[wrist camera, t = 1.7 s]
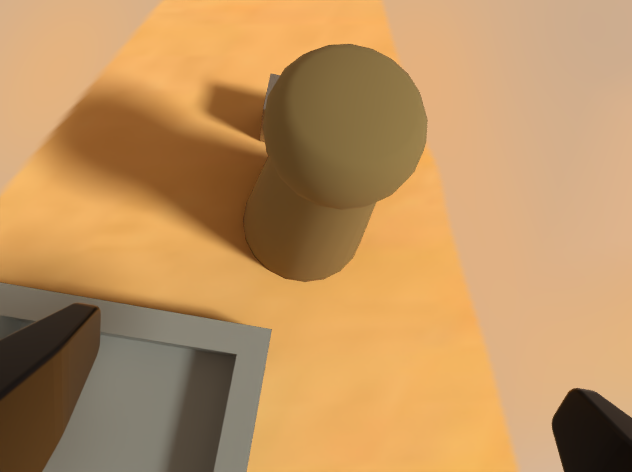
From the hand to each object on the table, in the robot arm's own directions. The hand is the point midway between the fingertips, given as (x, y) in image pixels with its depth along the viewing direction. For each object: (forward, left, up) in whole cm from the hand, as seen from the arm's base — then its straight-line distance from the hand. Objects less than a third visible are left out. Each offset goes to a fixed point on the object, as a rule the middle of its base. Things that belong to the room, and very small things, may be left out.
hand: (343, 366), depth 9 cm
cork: (+8, 0, -14) cm, 16 cm away
